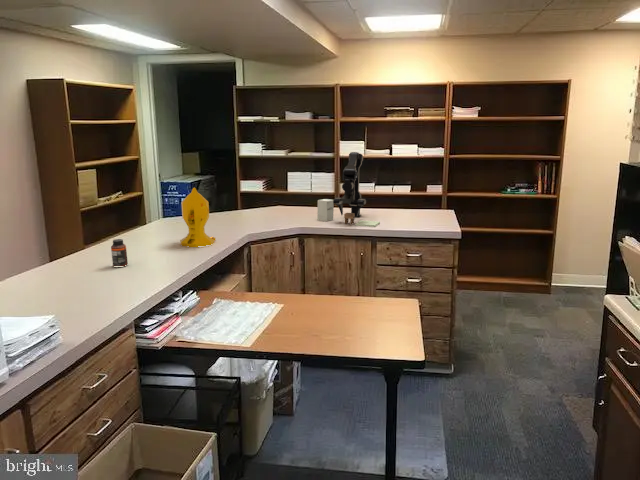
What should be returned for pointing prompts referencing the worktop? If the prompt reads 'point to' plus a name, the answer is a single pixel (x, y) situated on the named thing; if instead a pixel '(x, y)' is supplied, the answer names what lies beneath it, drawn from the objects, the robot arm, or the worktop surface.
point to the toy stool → (349, 217)
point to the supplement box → (325, 210)
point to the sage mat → (367, 223)
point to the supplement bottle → (119, 253)
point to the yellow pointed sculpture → (196, 220)
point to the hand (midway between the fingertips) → (349, 215)
